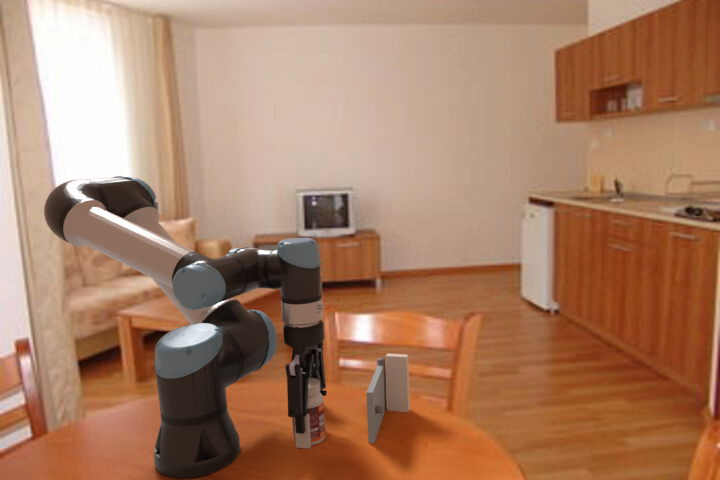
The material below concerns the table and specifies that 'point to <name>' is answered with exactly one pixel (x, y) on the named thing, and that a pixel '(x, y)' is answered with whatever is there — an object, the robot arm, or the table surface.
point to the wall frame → (397, 382)
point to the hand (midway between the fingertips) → (310, 437)
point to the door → (376, 400)
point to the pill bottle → (314, 412)
